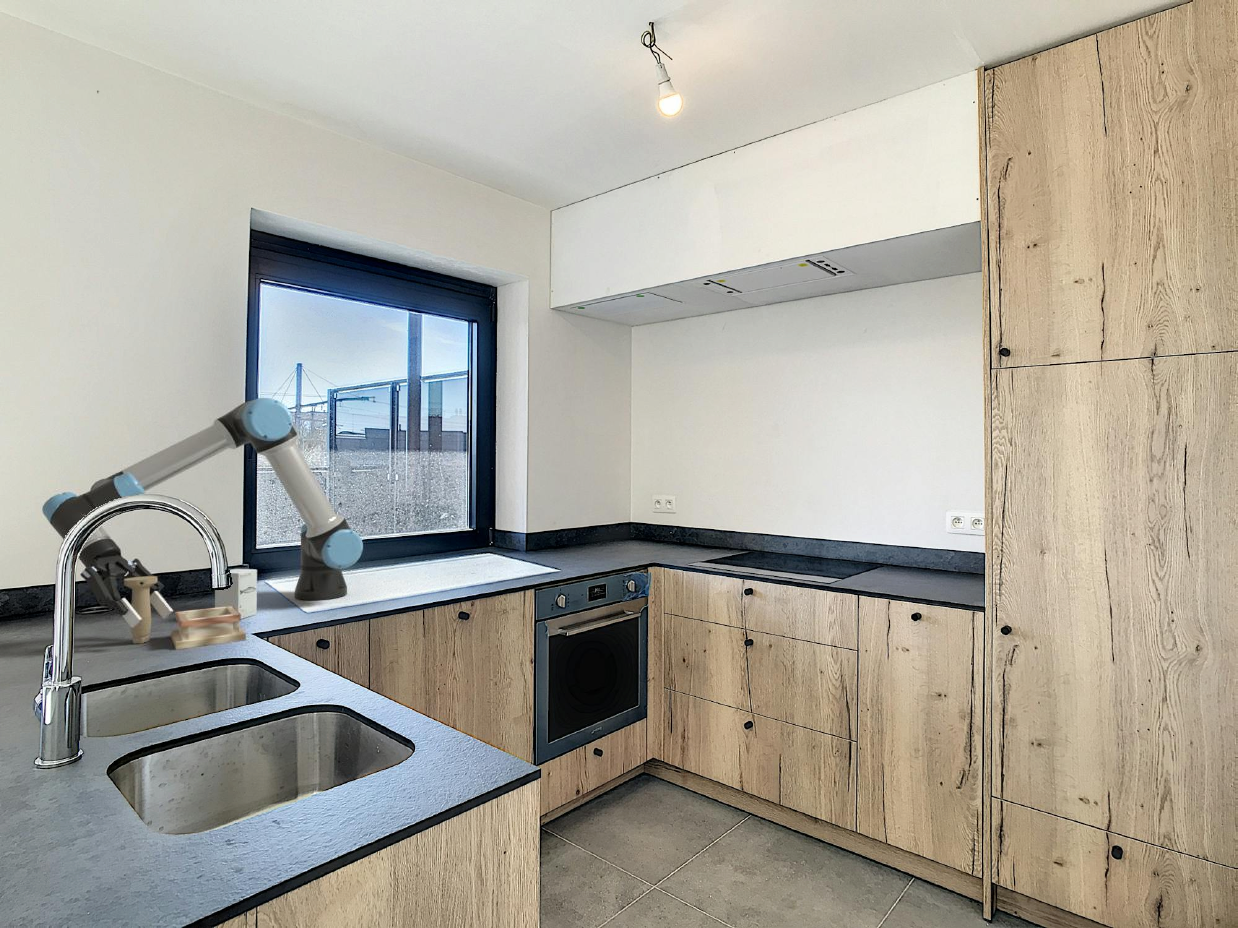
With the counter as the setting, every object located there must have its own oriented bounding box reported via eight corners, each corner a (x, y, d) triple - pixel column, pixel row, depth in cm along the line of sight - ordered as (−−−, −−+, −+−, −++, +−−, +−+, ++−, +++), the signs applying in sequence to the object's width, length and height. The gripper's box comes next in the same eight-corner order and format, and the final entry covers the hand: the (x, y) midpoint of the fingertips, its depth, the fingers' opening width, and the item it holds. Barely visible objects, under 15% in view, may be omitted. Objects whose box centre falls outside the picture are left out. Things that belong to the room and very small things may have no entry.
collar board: (236, 628, 176) (236, 604, 176) (245, 639, 164) (245, 614, 164) (170, 636, 167) (170, 611, 167) (176, 649, 156) (176, 622, 156)
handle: (123, 642, 162) (123, 578, 162) (156, 637, 166) (156, 575, 166) (124, 646, 158) (124, 581, 158) (158, 642, 162) (158, 578, 162)
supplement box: (238, 620, 184) (238, 573, 183) (213, 619, 185) (213, 572, 185) (257, 614, 191) (257, 568, 191) (234, 613, 192) (234, 567, 192)
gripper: (124, 552, 175) (179, 619, 172) (41, 565, 154) (102, 641, 152) (142, 532, 174) (198, 599, 171) (61, 542, 153) (123, 618, 151)
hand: (153, 618), depth 161 cm, fingers open, 8 cm apart
